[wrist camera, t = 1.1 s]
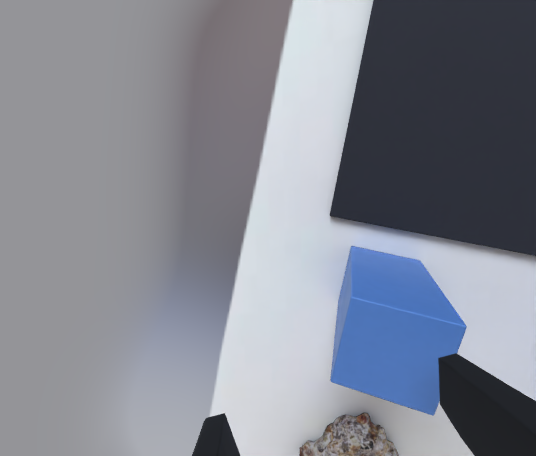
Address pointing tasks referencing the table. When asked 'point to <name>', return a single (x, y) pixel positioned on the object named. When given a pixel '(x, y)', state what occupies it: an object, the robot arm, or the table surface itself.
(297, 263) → the table surface
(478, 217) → the desk mat
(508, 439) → the robot arm
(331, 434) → the mineral rock
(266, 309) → the table surface
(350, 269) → the blue block
